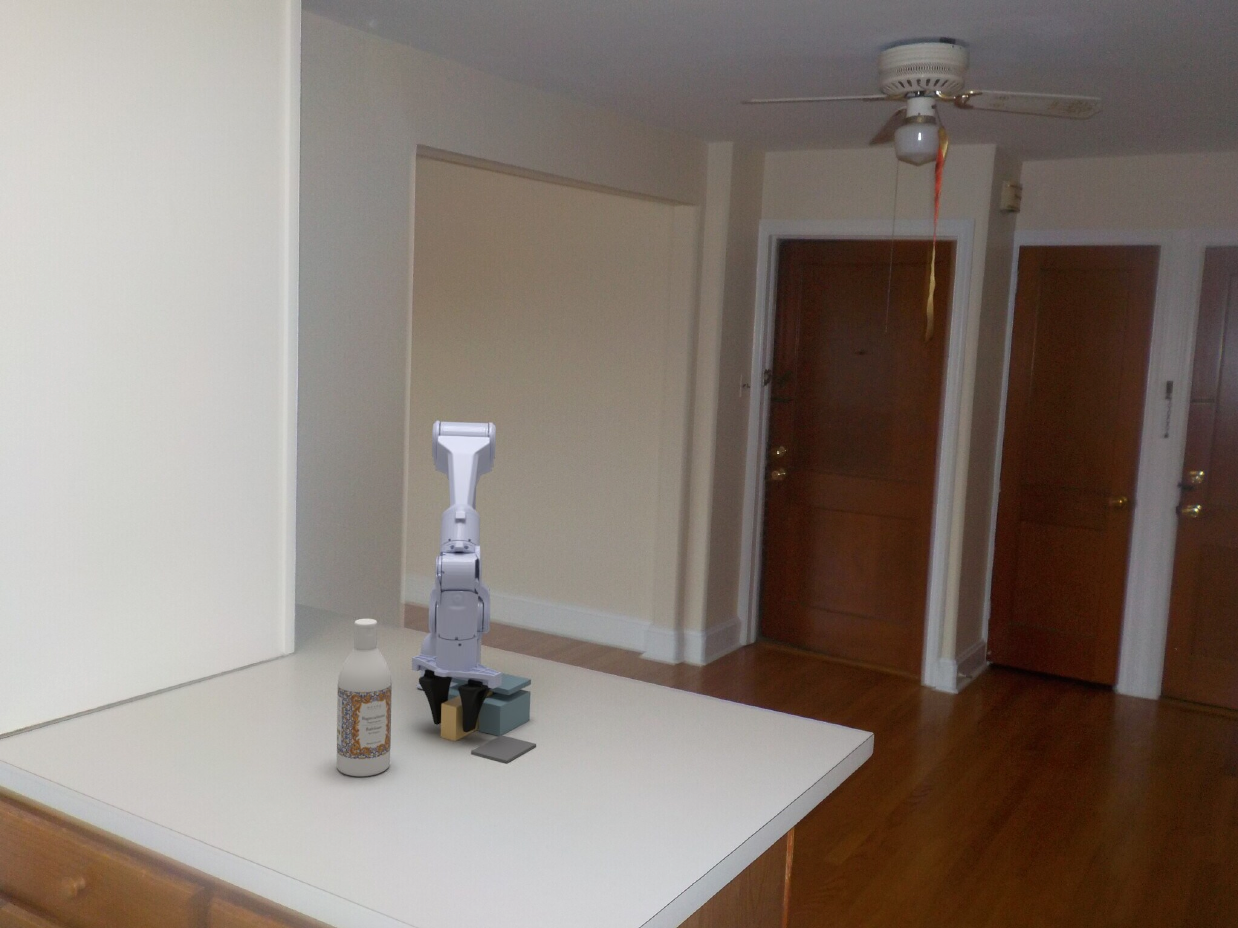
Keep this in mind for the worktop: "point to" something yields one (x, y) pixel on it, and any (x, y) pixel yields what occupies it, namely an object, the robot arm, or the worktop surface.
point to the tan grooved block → (454, 719)
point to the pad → (503, 749)
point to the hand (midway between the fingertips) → (454, 726)
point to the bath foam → (364, 706)
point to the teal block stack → (501, 704)
